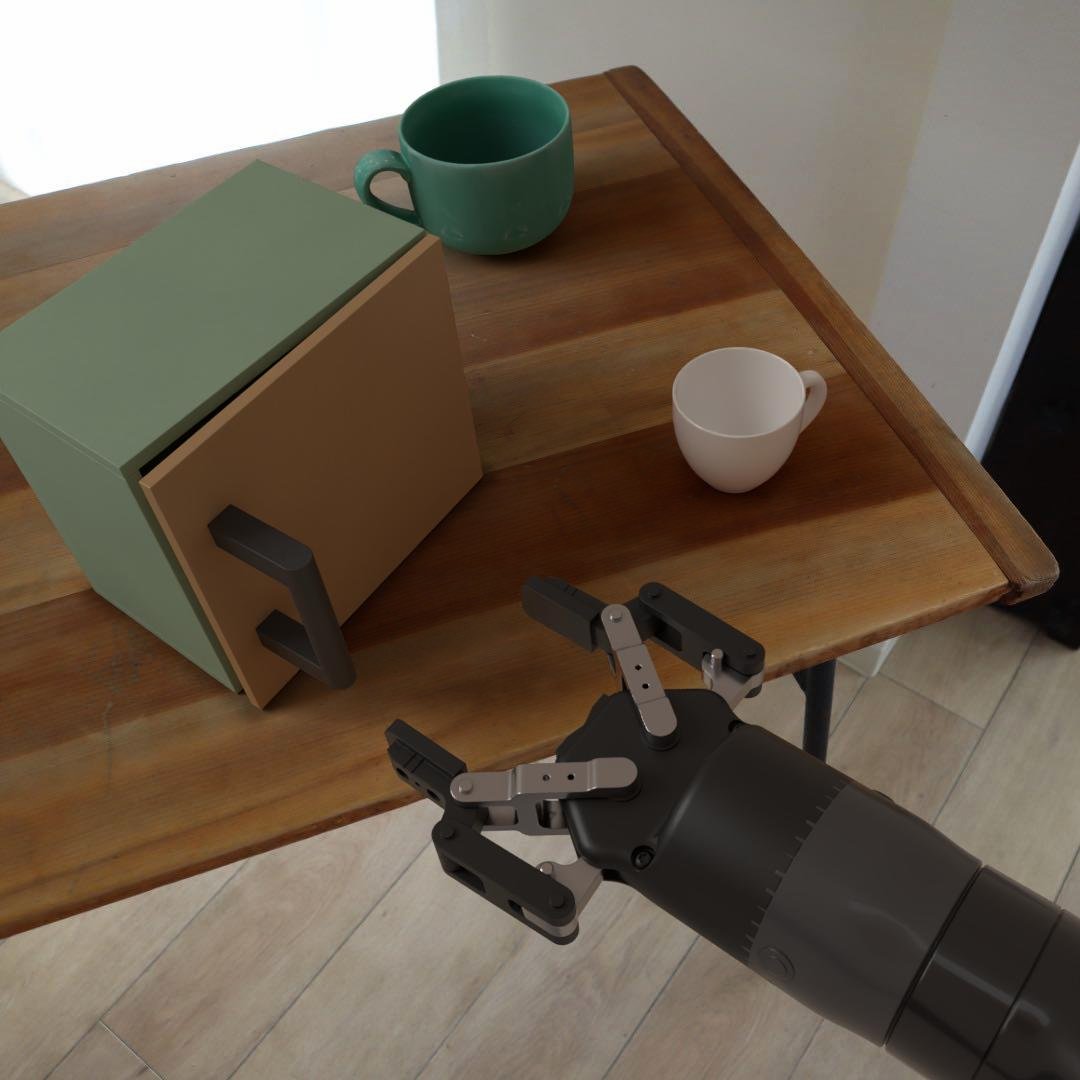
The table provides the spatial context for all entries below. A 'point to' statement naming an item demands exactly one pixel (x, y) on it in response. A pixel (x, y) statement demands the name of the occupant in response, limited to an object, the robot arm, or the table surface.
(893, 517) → the table surface
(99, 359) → the cupboard
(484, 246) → the mug
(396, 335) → the cupboard door
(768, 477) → the cup
